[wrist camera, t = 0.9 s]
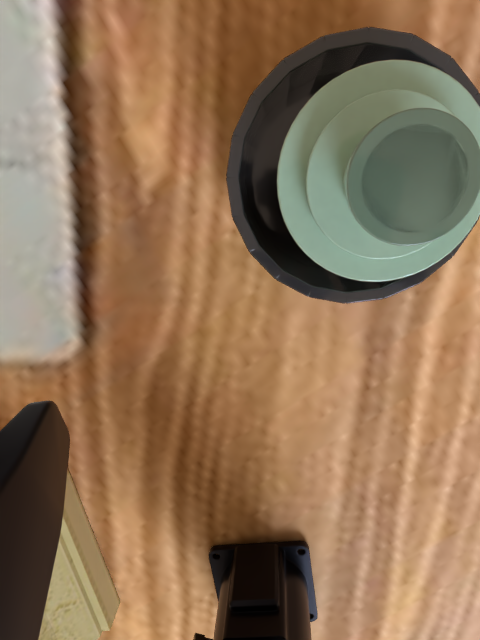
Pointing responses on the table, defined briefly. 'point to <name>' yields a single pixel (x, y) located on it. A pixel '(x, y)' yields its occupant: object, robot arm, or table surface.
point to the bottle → (382, 171)
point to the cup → (267, 140)
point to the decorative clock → (78, 580)
